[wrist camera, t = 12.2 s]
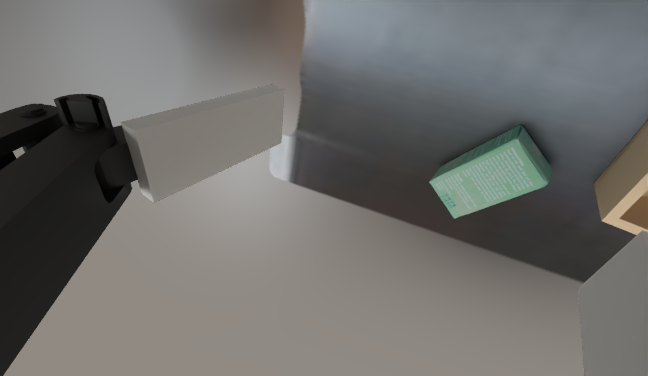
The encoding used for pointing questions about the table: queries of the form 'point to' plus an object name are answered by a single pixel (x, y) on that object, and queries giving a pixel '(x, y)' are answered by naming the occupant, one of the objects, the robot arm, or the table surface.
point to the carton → (626, 186)
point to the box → (492, 173)
